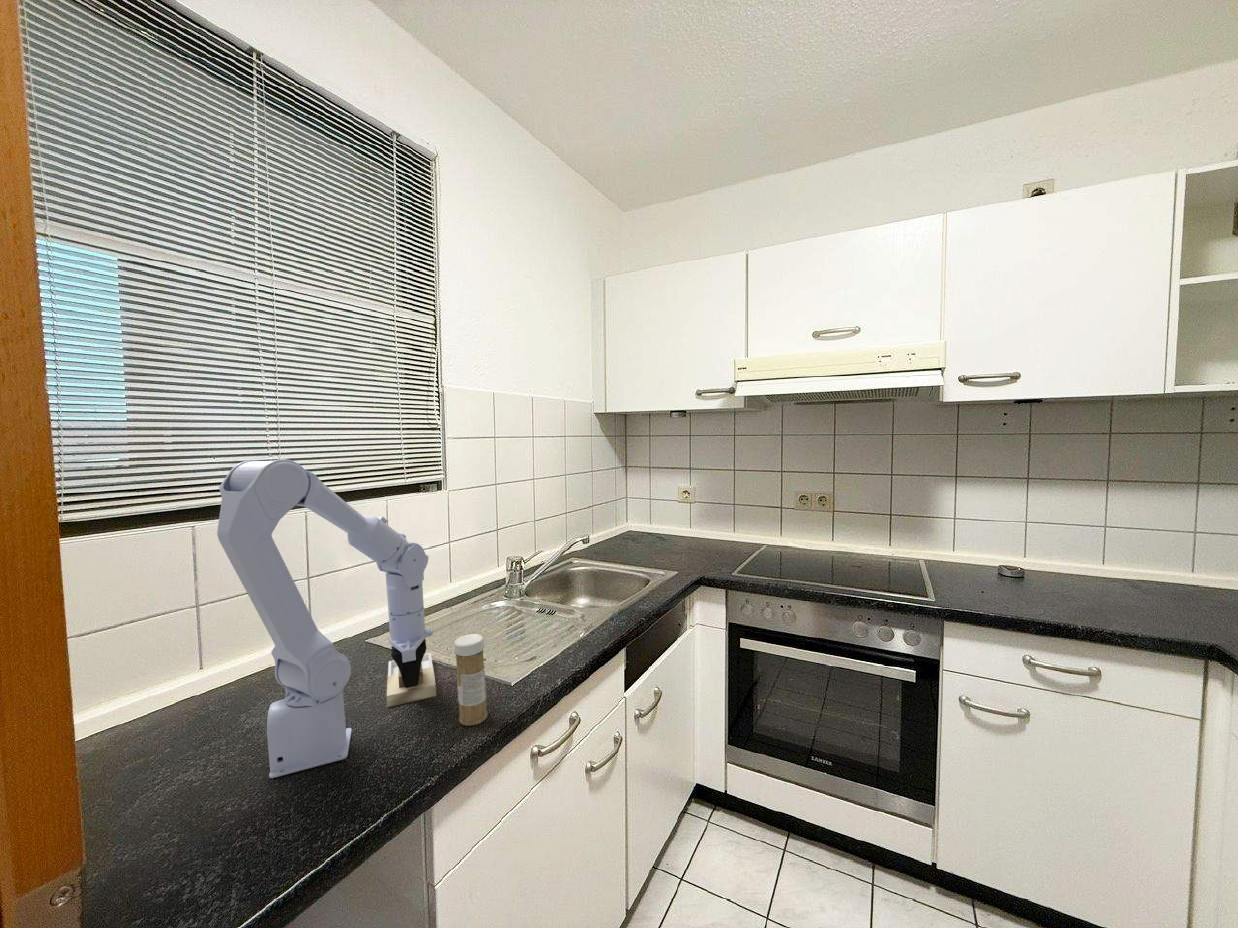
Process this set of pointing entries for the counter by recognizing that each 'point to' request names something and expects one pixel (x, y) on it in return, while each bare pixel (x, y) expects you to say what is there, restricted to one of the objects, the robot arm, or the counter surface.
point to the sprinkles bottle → (471, 679)
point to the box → (425, 662)
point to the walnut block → (402, 680)
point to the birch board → (410, 689)
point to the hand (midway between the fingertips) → (411, 685)
